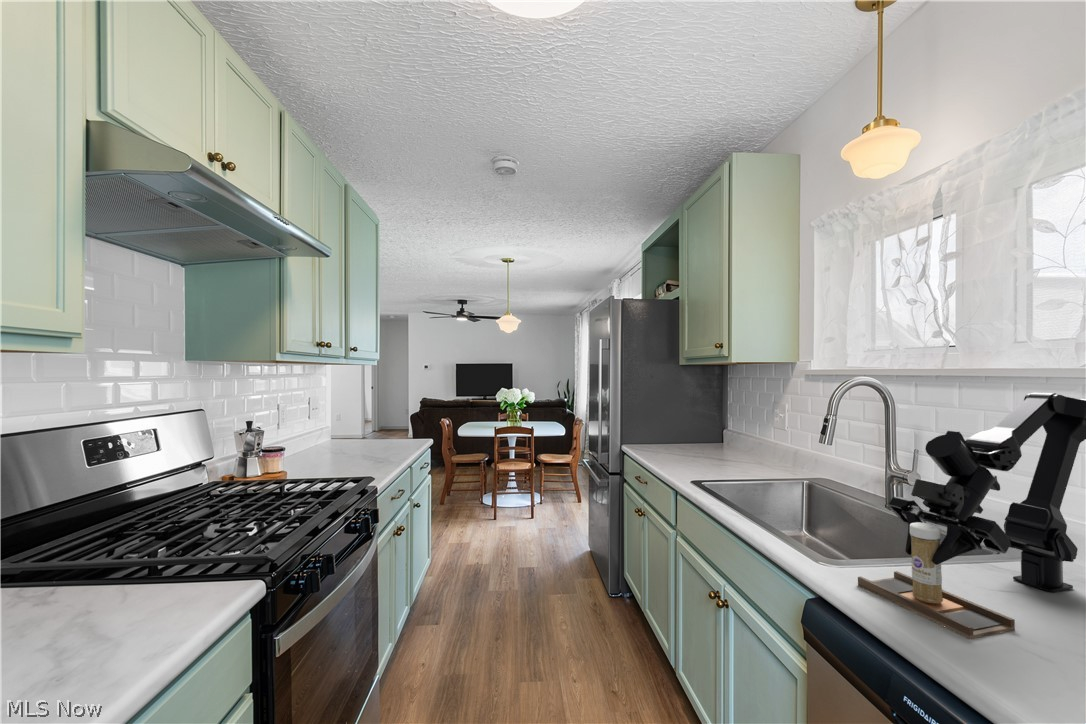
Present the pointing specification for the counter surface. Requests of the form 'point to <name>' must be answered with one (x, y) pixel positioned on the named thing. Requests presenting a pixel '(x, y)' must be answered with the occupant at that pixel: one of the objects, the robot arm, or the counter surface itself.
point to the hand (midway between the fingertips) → (920, 558)
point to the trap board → (941, 607)
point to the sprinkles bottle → (926, 562)
